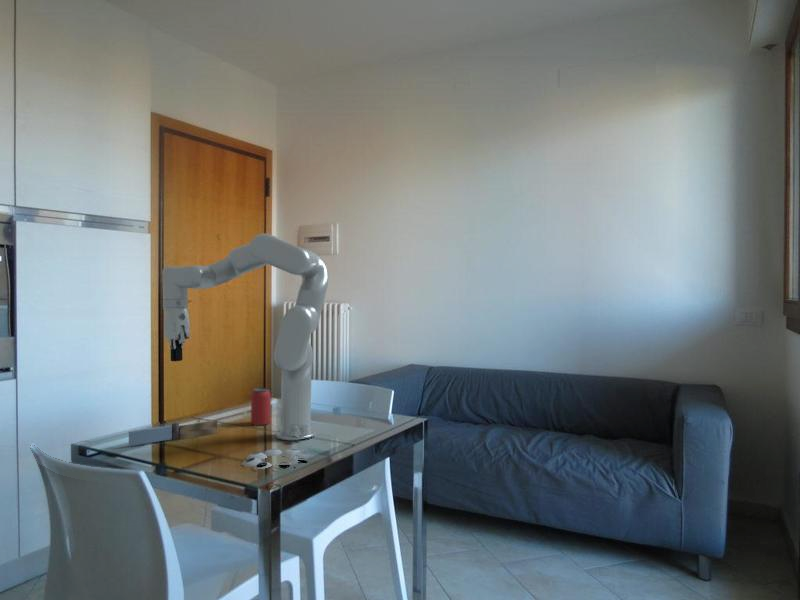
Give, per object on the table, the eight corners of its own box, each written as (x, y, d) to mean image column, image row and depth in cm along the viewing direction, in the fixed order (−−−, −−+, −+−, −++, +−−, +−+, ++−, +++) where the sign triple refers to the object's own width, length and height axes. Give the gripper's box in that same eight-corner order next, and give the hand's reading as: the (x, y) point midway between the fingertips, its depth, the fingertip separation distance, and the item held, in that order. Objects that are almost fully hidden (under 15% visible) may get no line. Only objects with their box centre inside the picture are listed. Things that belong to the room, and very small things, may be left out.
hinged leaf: (170, 438, 174) (170, 425, 174) (171, 439, 173) (171, 426, 173) (128, 444, 166) (128, 431, 166) (129, 445, 165) (130, 432, 165)
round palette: (327, 457, 159) (327, 450, 159) (288, 478, 141) (288, 470, 141) (269, 449, 166) (269, 442, 166) (225, 468, 148) (225, 461, 148)
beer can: (271, 424, 195) (272, 390, 195) (252, 426, 192) (252, 391, 192) (268, 420, 201) (269, 387, 201) (250, 422, 199) (250, 388, 198)
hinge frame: (214, 432, 184) (215, 417, 184) (217, 433, 182) (217, 418, 182) (170, 439, 174) (170, 423, 174) (173, 440, 173) (173, 424, 173)
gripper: (196, 304, 180) (197, 361, 180) (177, 304, 190) (178, 358, 191) (173, 305, 174) (174, 363, 175) (154, 304, 185) (156, 360, 185)
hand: (176, 360), depth 183 cm, fingers closed
